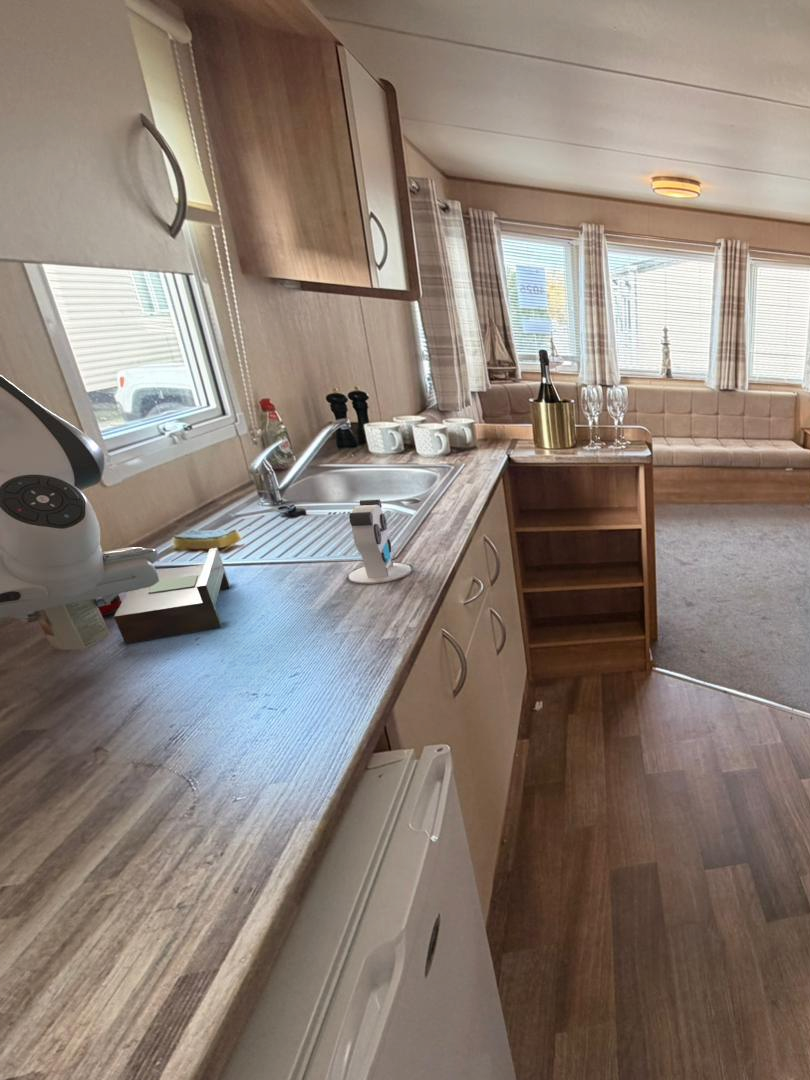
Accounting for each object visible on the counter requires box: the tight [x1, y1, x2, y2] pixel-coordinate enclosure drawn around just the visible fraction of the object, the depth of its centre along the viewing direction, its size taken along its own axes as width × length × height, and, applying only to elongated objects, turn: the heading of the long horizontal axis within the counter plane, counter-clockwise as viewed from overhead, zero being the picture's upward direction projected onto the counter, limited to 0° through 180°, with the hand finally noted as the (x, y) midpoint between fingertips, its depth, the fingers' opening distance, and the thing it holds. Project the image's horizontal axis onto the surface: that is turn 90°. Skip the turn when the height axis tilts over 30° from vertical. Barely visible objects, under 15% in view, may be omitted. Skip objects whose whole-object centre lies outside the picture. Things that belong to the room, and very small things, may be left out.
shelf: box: [113, 547, 231, 645], centre depth 114 cm, size 12×22×8 cm, turn 36°
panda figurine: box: [348, 499, 412, 585], centre depth 132 cm, size 12×11×15 cm
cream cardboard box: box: [35, 599, 111, 651], centre depth 95 cm, size 5×4×10 cm
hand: (65, 609), depth 96 cm, fingers closed on cream cardboard box, 6 cm apart
